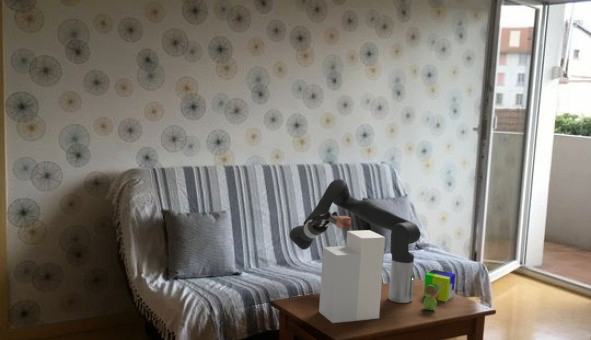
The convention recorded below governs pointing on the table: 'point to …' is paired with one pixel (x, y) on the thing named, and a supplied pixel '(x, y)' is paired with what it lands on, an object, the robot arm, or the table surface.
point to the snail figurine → (431, 296)
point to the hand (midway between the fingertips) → (332, 214)
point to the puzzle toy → (446, 284)
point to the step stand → (352, 278)
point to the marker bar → (340, 221)
